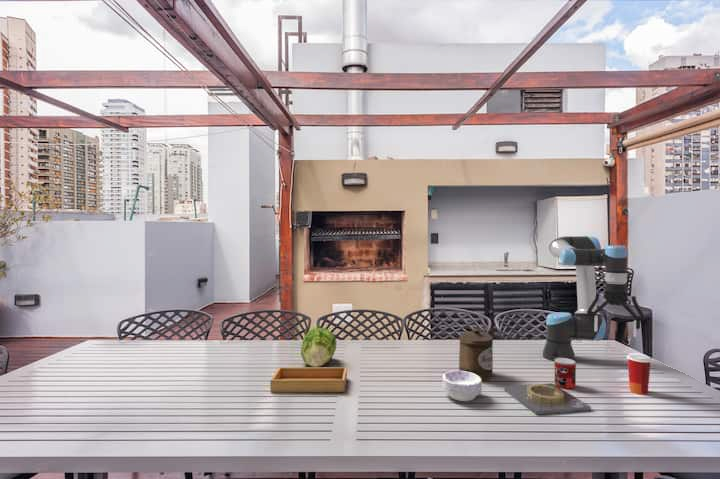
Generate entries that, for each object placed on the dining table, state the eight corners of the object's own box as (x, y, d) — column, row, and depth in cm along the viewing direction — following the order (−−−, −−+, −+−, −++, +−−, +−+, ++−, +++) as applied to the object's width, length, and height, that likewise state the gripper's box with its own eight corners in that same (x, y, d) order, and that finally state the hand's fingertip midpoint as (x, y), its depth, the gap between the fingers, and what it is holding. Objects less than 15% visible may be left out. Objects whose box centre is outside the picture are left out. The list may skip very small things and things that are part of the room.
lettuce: (291, 356, 178) (324, 334, 177) (294, 334, 200) (323, 314, 200) (313, 384, 182) (346, 362, 181) (314, 359, 204) (342, 340, 204)
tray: (270, 392, 158) (270, 379, 158) (279, 378, 173) (279, 366, 173) (344, 393, 157) (344, 380, 157) (346, 379, 172) (346, 367, 172)
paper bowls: (460, 408, 143) (460, 387, 143) (434, 393, 156) (434, 373, 156) (490, 400, 150) (490, 380, 150) (463, 386, 164) (463, 367, 163)
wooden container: (488, 383, 166) (488, 333, 166) (454, 376, 174) (455, 328, 174) (495, 373, 179) (496, 326, 178) (464, 367, 187) (464, 322, 186)
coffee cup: (646, 389, 160) (647, 353, 160) (654, 397, 152) (654, 359, 152) (623, 386, 163) (623, 351, 163) (629, 394, 155) (630, 357, 155)
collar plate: (504, 390, 159) (504, 381, 159) (552, 386, 163) (552, 378, 163) (536, 415, 138) (536, 405, 137) (590, 410, 141) (591, 401, 141)
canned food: (550, 382, 167) (551, 357, 167) (568, 382, 168) (568, 357, 168) (561, 390, 159) (561, 363, 159) (579, 389, 160) (579, 363, 160)
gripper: (579, 281, 163) (579, 330, 164) (653, 286, 147) (652, 341, 148) (583, 279, 169) (582, 326, 170) (654, 284, 153) (653, 337, 153)
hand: (614, 333), depth 159 cm, fingers open, 13 cm apart
